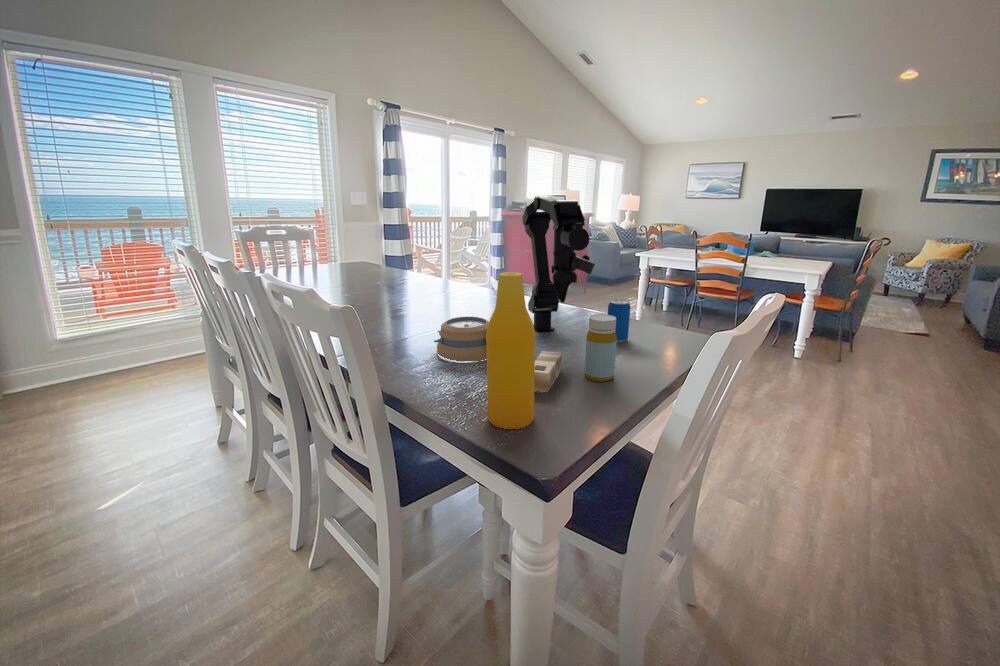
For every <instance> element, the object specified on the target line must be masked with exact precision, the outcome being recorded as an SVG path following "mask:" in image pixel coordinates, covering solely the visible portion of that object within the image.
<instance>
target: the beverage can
mask: <svg viewBox="0 0 1000 666" xmlns="http://www.w3.org/2000/svg"><path fill="white" fill-rule="evenodd" d="M607 315H612V316H614V317H616V327H615V333H616V336H617V343H623V341H624V342H625V341H627V340H628V339H629V327H630V319H631V318H630V316H631V304H630V301H629V300H626V299H611V300H610V299H609V303H608V305H607Z"/></svg>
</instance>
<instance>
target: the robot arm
mask: <svg viewBox="0 0 1000 666" xmlns="http://www.w3.org/2000/svg"><path fill="white" fill-rule="evenodd" d="M585 220H586V219H585V216H584V213H583V211H582V208H581V205H580V204H579V201H578V200H577V199H557V198H555V197H552V196H550V195H537V196H534V198H533V201H532V202H531V203H530V204H529V205H527V206H526V207H525V209H524V211H523V214H522V225H523V226H524V232H525V233H526V234H527V236H528V237H529V238H530V240H531V249H532V250H531V251H532V258H533V268H534V278H535V283H534V285H533V288H532V290H531V295H530V298H529V300H528V303H527V307H528V309H527V311H529V312H530V313H532V314H533V325H534V330H535V333H542V332H552V331H555V330H556V328H555V327H554V326H552V312H554V313H555V312H558V308H559V304H560V303H565V302H566V298H567V293H568V290H569V286H570V285H571V284H573V283H574V284H575V283H577V282H578V275H577V273H576V270H580V271H582V272H584V273H585V274H586V275H587V274H588V275H591V274H592V272H593V270H594V267H595V265H596V263H595V262H594V261H592V260H590V256H589V255H587V254H582V256H578V255H577V252H576V251H579V252H580V251H583V250H584V249H585V250H586V248H587V247H588V245H589V243H590V239H591V238H590V235H589V232H588V231H587V230H586V229H585V228H584V227H585V225H586V224H585ZM551 221H552V223H553V227H552V230H553V251H552V252H553V253H552V255H553V259H552V260H553V264H552V265H551V274H552V276H551V275H550V265H549V256H548V248H547V240H546V235H547V234H548V230H549V229H550V223H551ZM551 277H552V280H551Z"/></svg>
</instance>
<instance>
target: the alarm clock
mask: <svg viewBox="0 0 1000 666" xmlns="http://www.w3.org/2000/svg"><path fill="white" fill-rule="evenodd" d="M489 321H490V320H487V319H485V318H482V317H478V316H460V317H459V316H458V317H452V318H451V319H448V320H446V321H445V322H443V323H442V324H440V330H438V331H437V333H439V337H440V338H438V339H435V340H433V343H437V344H436V354H437V353H438V354H439V355H440V356H442V357H444V358H447V359H450V360H456V361H481V360H485V359H487V345H486V333H487V327H488V324H489Z"/></svg>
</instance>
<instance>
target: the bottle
mask: <svg viewBox="0 0 1000 666" xmlns="http://www.w3.org/2000/svg"><path fill="white" fill-rule="evenodd" d="M615 327H616V317H614V316H612V315H608V314H607V313H605V314H603V313H602V314H601V313H598V314H597V313H596V314H592V315H591V314H590V315H589V317H588V331H587V334H586V339H585V359H584V376H585V377H586V378H587V379H588V380H589V381H592V382H597V383H598V382H599V383H605V381H606V382H608V381H609V380H610V381H611V380H612V379H613V378H614V377H615V372H616V371H615V369H616V355H617V353H616V352H617V343H618V342H617V336H616V333H615Z"/></svg>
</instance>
